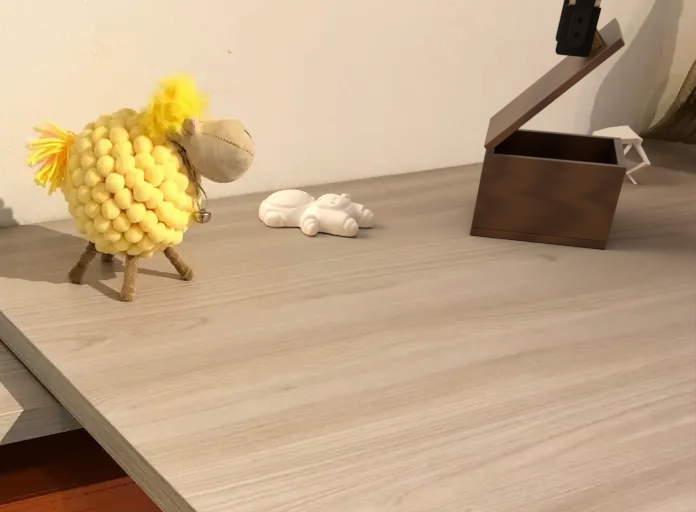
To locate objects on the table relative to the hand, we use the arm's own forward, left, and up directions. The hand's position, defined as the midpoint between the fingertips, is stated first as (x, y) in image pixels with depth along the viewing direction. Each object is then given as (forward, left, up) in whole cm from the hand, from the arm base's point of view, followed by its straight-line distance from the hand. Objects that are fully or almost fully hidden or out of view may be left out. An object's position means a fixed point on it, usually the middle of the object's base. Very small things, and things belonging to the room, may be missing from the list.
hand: (571, 47), depth 101 cm
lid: (+1, 0, -4) cm, 4 cm away
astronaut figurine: (+22, +8, -17) cm, 29 cm away
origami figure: (-9, -23, -17) cm, 30 cm away
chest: (-1, 0, -17) cm, 17 cm away
